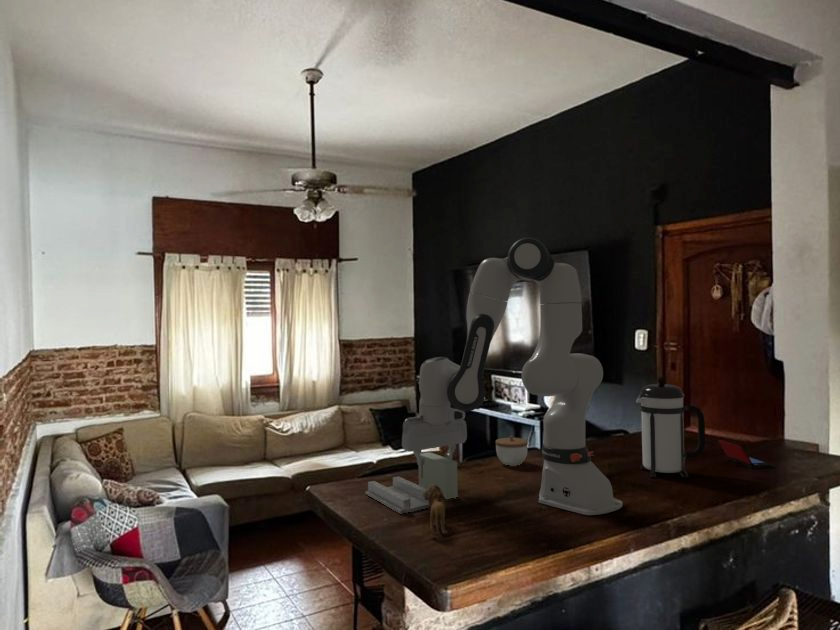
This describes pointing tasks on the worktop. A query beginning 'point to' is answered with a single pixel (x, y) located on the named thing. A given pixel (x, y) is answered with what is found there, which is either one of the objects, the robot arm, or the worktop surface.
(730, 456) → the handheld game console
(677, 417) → the coffee press
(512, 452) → the lidded jar
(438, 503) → the lion figurine
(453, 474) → the door panel
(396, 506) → the bottom track
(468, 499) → the worktop surface
